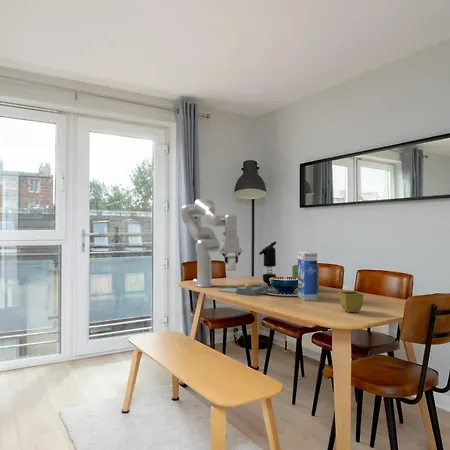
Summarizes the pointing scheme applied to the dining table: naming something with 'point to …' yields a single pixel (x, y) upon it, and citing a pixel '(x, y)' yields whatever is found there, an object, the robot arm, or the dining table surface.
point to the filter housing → (252, 290)
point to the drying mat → (229, 290)
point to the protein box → (295, 274)
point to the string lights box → (307, 275)
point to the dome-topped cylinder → (231, 263)
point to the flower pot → (351, 300)
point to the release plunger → (248, 285)
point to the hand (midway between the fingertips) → (231, 263)
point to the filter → (269, 261)
